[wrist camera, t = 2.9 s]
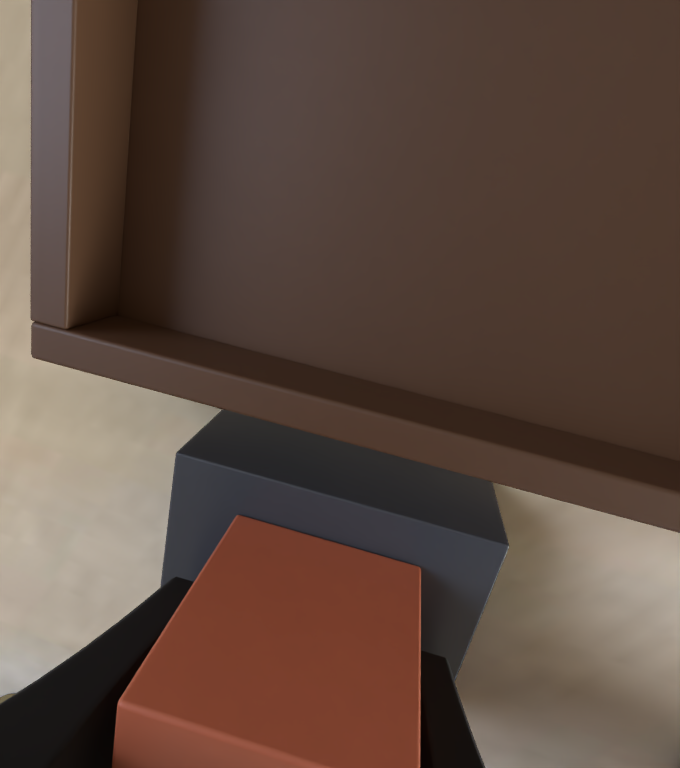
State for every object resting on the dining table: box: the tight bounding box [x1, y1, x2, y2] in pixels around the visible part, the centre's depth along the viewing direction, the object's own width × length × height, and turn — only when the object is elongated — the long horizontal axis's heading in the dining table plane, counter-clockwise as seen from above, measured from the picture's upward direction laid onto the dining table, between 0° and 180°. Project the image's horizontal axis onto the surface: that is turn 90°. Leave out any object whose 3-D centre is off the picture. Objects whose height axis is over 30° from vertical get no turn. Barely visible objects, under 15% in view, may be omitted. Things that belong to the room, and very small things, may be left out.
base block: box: [161, 410, 509, 681], centre depth 12 cm, size 7×7×3 cm
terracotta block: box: [112, 515, 421, 768], centre depth 9 cm, size 5×4×4 cm
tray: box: [31, 0, 680, 533], centre depth 9 cm, size 12×16×3 cm
